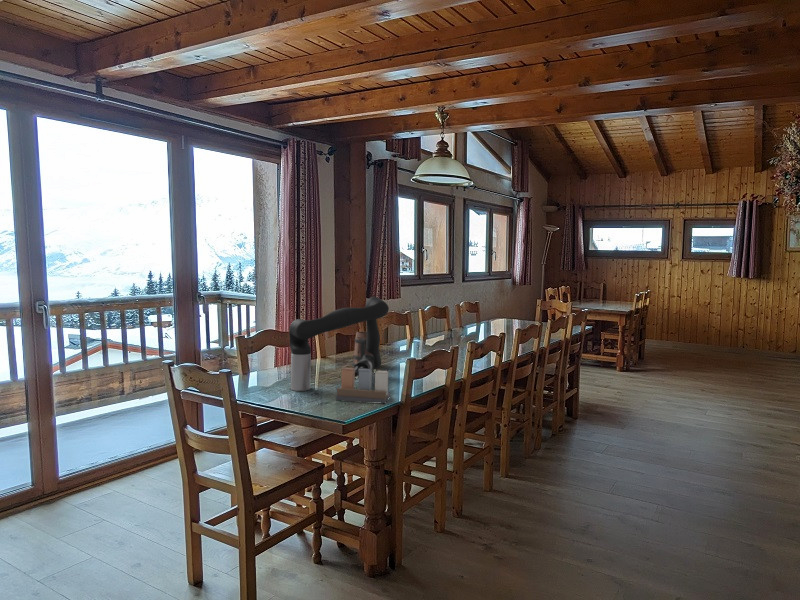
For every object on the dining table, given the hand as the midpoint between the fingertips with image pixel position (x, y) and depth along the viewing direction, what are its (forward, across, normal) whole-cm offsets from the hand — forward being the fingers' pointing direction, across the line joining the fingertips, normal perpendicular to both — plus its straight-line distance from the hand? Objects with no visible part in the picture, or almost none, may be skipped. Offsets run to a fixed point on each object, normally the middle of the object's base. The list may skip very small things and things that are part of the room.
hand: (354, 374), depth 257 cm
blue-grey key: (+10, +8, +6) cm, 14 cm away
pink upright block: (+10, 0, +6) cm, 12 cm away
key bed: (+12, +8, +8) cm, 17 cm away
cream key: (+12, +16, +6) cm, 21 cm away
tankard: (-57, -10, +8) cm, 58 cm away
